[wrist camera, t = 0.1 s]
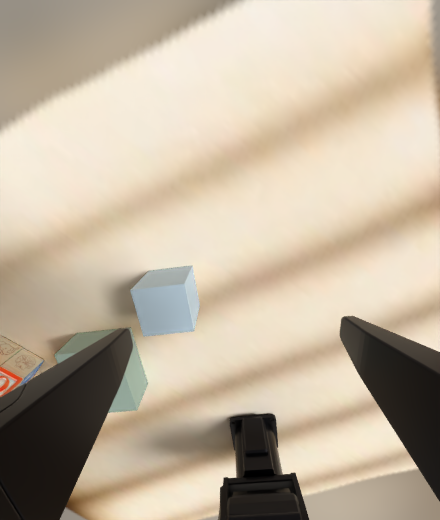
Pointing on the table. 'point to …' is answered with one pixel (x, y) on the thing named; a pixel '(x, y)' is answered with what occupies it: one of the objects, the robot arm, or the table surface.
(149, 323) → the cube
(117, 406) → the pale green block
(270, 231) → the table surface
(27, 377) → the stack of blocks
